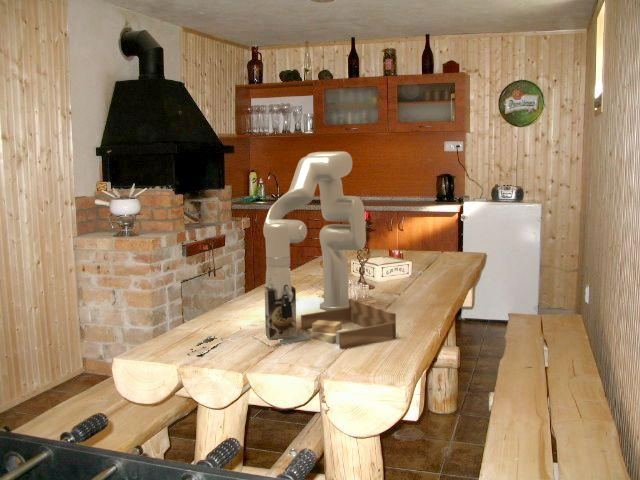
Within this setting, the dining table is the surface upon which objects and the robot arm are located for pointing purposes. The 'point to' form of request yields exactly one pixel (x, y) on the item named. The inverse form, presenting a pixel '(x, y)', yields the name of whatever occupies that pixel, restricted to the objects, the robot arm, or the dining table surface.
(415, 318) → the dining table surface
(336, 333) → the offcut cube
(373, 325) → the rack
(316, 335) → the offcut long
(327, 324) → the offcut short
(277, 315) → the coffee box
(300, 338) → the mat
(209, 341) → the driftwood
